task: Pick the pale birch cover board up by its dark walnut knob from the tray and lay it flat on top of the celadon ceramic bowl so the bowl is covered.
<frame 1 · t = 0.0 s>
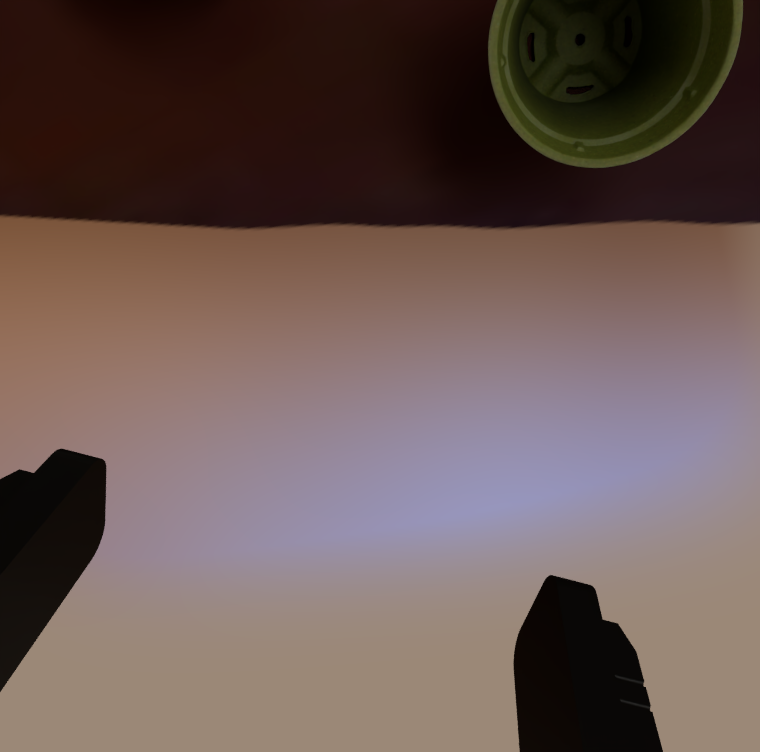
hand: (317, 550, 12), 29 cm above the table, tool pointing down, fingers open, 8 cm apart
plant pot: (577, 36, 33), on the table
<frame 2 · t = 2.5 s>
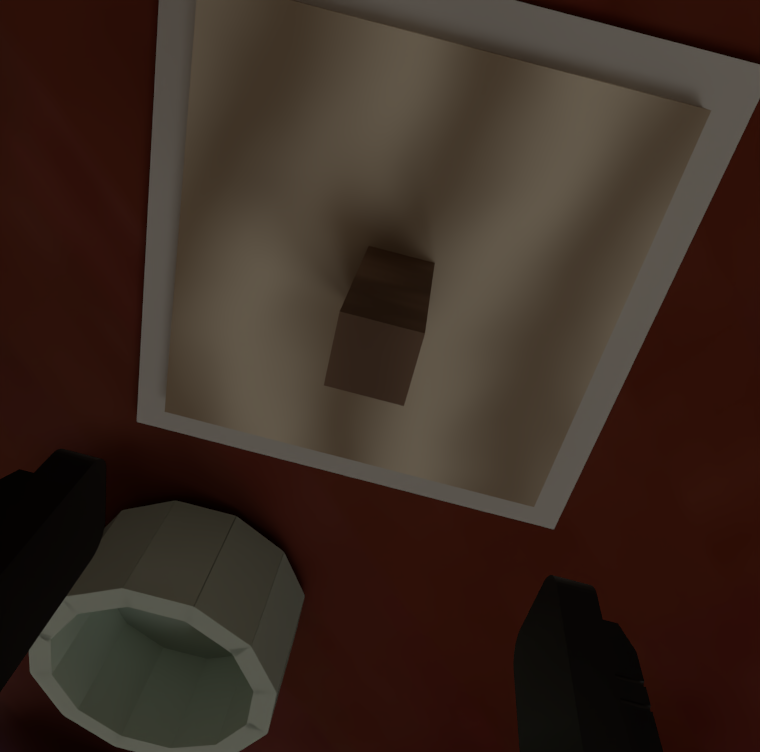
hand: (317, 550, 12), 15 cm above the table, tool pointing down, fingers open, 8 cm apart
tray: (397, 272, 25), on the table
cover board: (395, 277, 24), point 1 cm above the table, touching tray
bowl: (199, 581, 34), on the table
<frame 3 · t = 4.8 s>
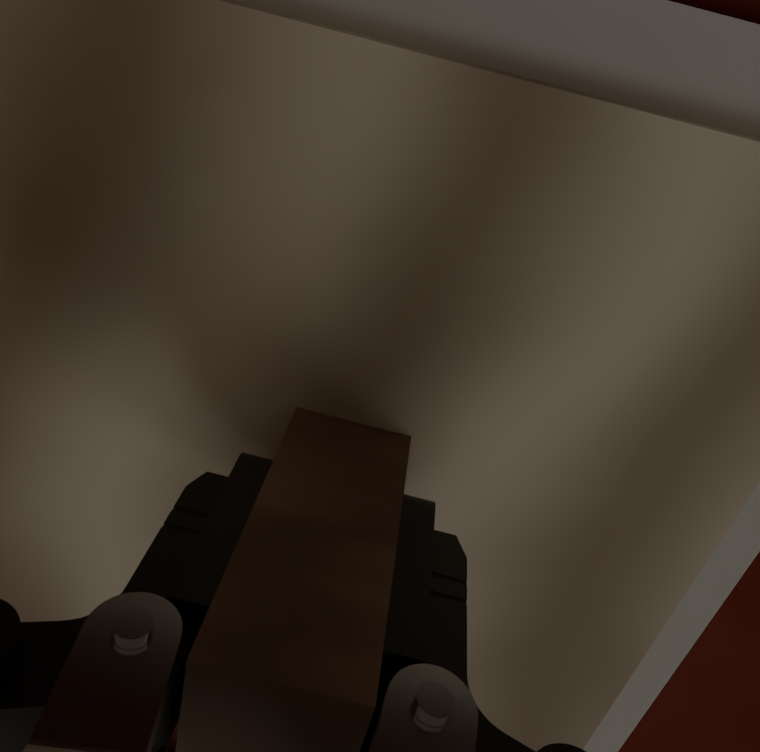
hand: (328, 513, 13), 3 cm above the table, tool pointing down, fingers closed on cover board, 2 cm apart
tray: (351, 430, 15), on the table
cover board: (348, 445, 15), point 1 cm above the table, touching gripper, tray
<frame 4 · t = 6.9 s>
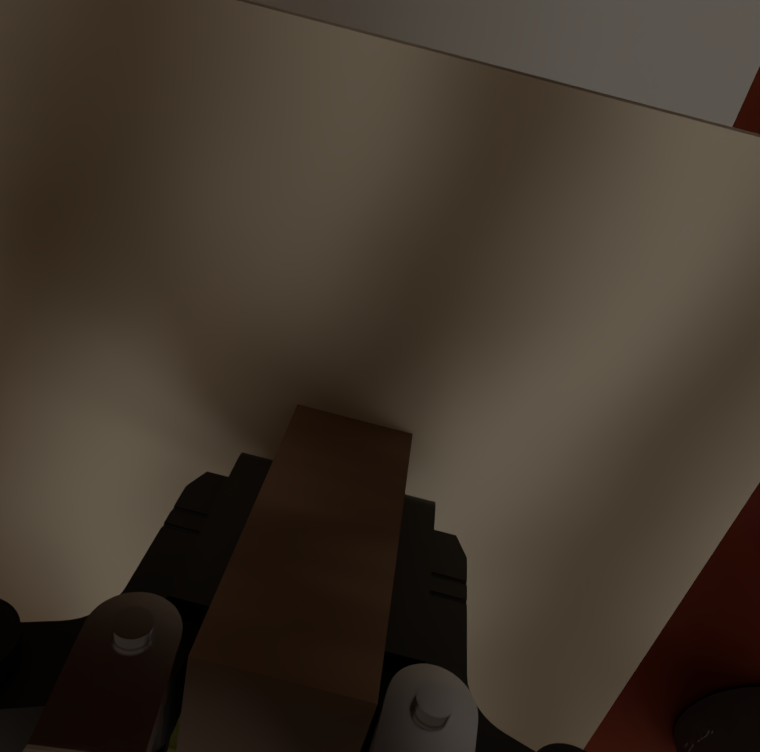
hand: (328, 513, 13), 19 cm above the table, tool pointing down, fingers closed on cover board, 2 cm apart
tray: (488, 61, 25), on the table
cover board: (349, 443, 15), point 16 cm above the table, touching gripper
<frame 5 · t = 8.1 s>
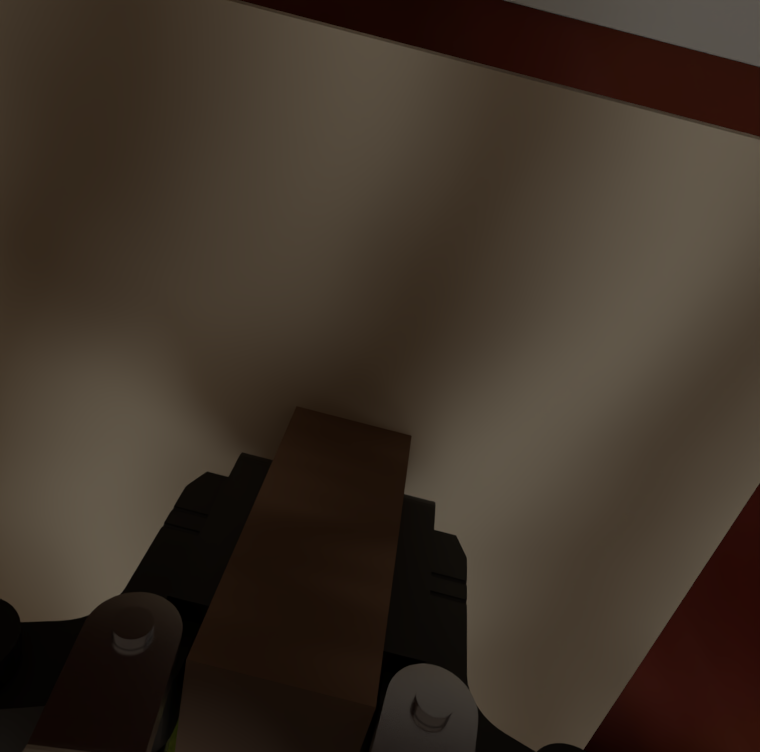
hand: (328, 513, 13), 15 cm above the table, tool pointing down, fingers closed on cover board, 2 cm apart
cover board: (348, 445, 15), point 12 cm above the table, touching gripper
when the fingers open (9 cm above the table, at t = 9.1 s): cover board drops 1 cm, resting on bowl.
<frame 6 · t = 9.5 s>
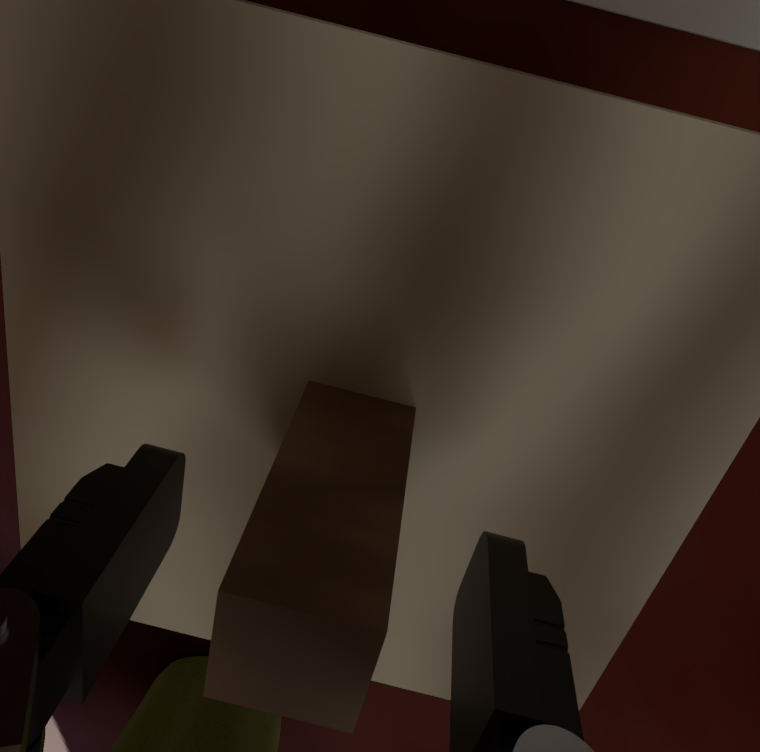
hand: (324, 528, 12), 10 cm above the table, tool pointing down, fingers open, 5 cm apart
plant pot: (223, 691, 31), on the table
cover board: (356, 419, 16), point 6 cm above the table, touching bowl
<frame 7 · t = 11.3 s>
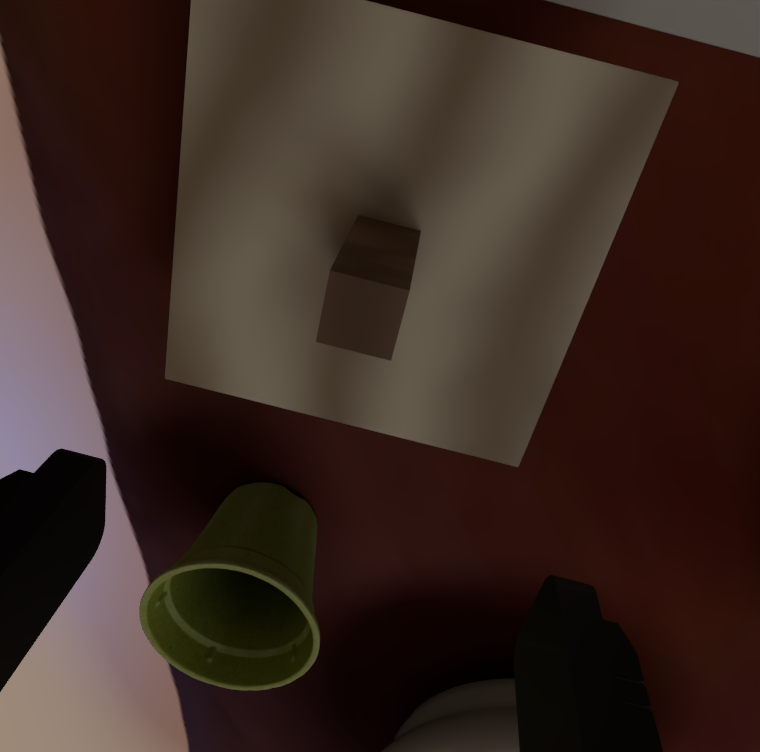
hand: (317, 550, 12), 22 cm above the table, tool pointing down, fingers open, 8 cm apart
white round tub: (516, 732, 49), on the table
plant pot: (272, 516, 41), on the table
cover board: (384, 246, 26), point 6 cm above the table, touching bowl
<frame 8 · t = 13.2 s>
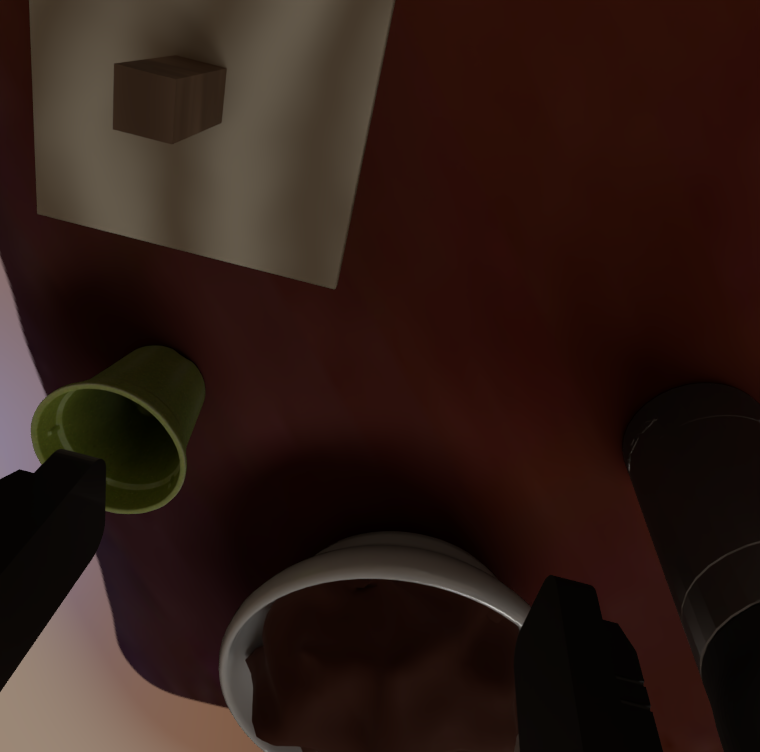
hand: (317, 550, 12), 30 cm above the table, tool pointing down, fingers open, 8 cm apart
white round tub: (402, 596, 54), on the table
plant pot: (166, 380, 47), on the table
cover board: (205, 88, 31), point 6 cm above the table, touching bowl
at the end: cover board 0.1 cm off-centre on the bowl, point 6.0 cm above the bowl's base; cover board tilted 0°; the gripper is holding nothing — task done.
